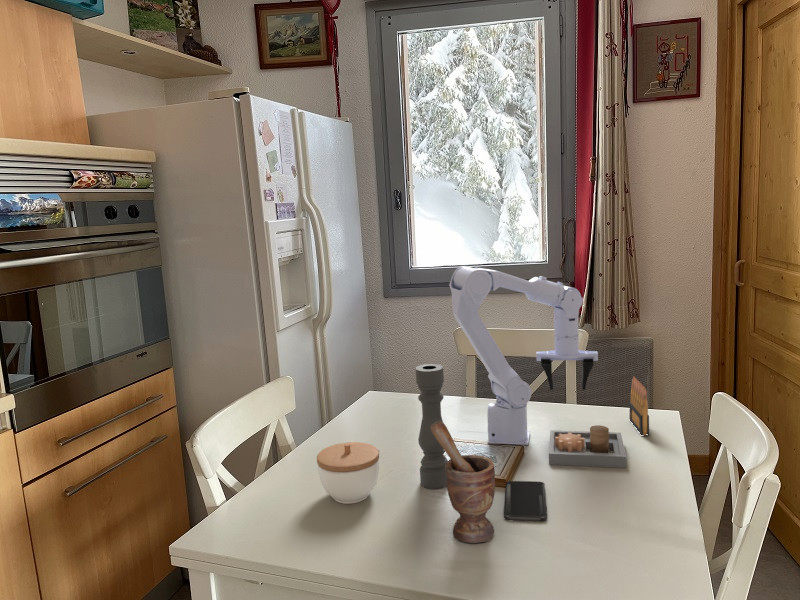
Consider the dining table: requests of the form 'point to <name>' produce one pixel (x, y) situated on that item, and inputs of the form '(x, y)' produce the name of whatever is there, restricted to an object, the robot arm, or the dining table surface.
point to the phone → (525, 501)
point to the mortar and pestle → (468, 488)
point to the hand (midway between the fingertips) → (567, 388)
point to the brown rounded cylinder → (599, 439)
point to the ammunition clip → (639, 407)
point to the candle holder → (430, 397)
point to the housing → (584, 450)
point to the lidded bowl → (349, 471)
